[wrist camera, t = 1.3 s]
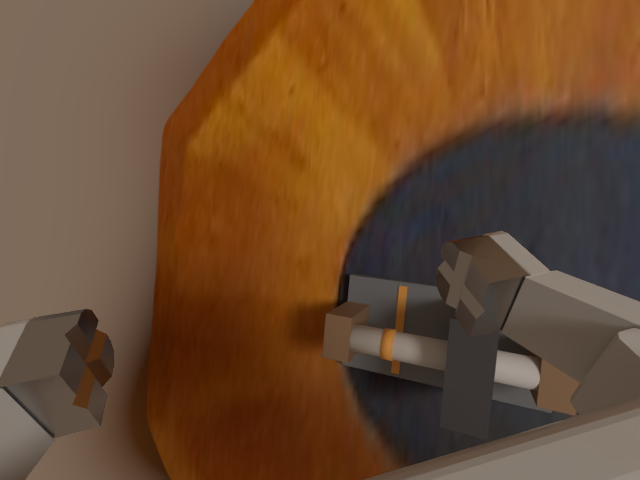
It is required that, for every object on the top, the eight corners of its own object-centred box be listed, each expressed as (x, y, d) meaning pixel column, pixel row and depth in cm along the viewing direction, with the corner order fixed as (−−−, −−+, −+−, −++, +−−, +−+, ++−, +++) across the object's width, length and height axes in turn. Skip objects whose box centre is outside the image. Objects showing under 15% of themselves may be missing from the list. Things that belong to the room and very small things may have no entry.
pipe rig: (561, 301, 41) (587, 320, 32) (548, 407, 41) (571, 455, 32) (353, 273, 49) (328, 282, 40) (345, 360, 50) (319, 388, 41)
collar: (492, 305, 40) (500, 326, 31) (482, 393, 41) (487, 440, 32) (453, 299, 42) (450, 318, 33) (445, 385, 42) (439, 427, 33)
